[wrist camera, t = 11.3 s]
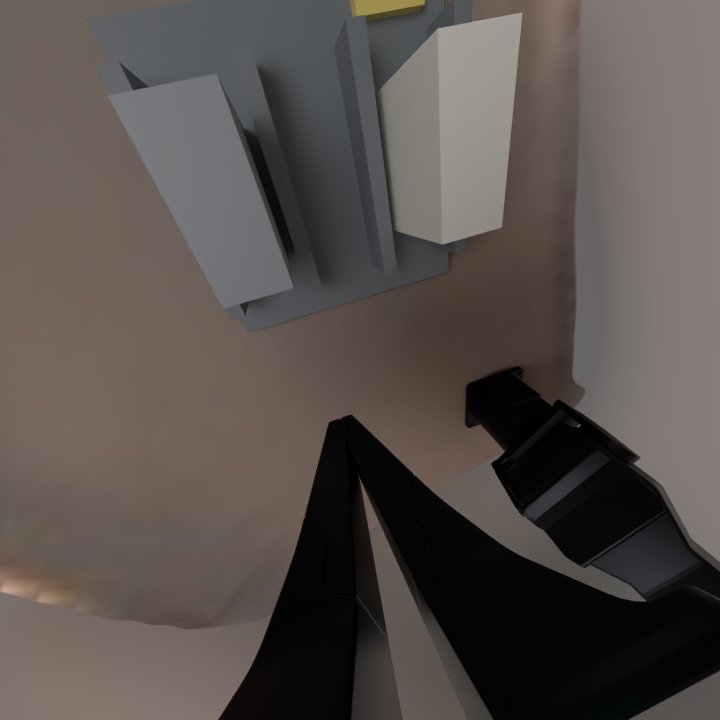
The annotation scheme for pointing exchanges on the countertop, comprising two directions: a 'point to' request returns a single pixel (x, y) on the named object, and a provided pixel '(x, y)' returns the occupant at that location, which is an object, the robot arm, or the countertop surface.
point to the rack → (275, 141)
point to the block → (451, 130)
